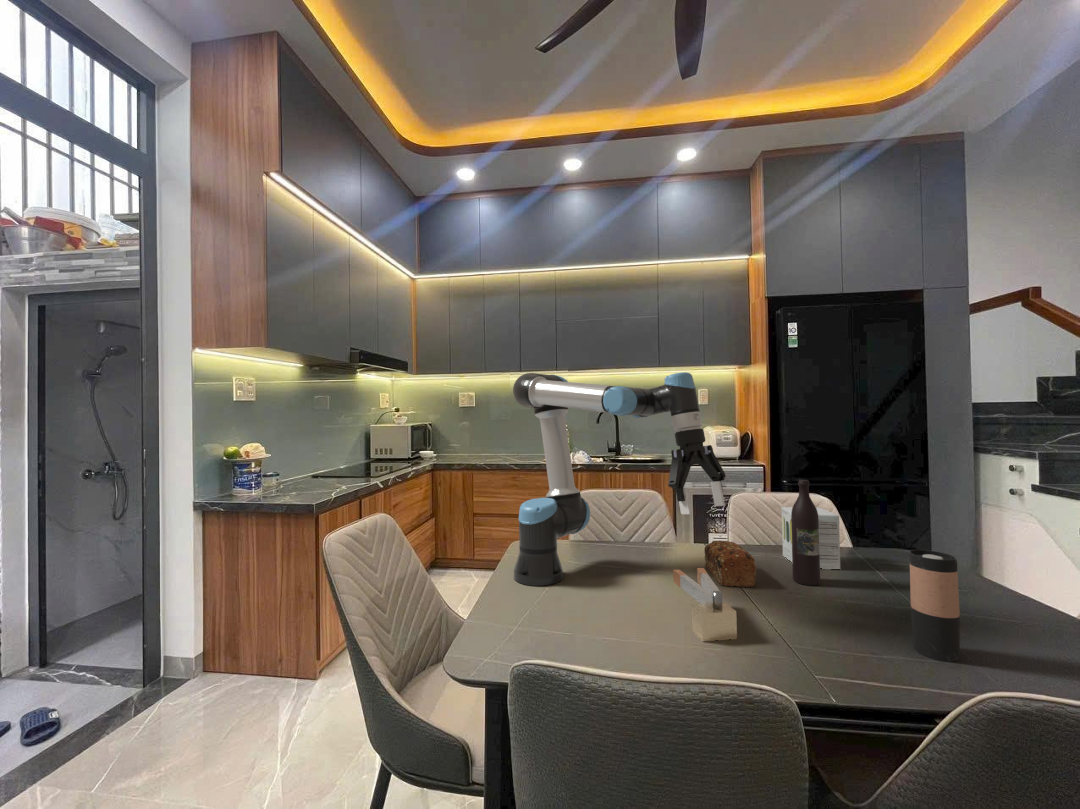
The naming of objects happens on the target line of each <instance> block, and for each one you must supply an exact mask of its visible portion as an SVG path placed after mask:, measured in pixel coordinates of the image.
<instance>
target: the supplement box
mask: <svg viewBox="0 0 1080 809" xmlns="http://www.w3.org/2000/svg"><path fill="white" fill-rule="evenodd" d="M792 508H793V506H781V531H782V532H781V538H782V539H781V540H782V557H783V556H784V557H786V558H787V559H788V560H790V561H791V562H792V527H791V512H792ZM816 509H817V512H818V519H819V551H820V568H822V569H821V570H831V569H840V570H841V547H840V546H841V543H840V515H839V514H837V513H834V512H831V511H829V510H826V509H824V508H821V507H816ZM784 557H783V558H784ZM786 558H785V559H786ZM787 559H786V560H787ZM788 560H787V561H788ZM791 562H790V563H791Z"/></svg>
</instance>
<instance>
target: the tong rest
mask: <svg viewBox="0 0 1080 809" xmlns="http://www.w3.org/2000/svg"><path fill="white" fill-rule="evenodd" d="M672 577H673V578H672V579H673V581H672V582H673V584H675V585H677V586H678V588H680V589H682V590H683V591H684V592H685V593H687V594H688V595H689V596H690V597H692V599H694V600H695V601H697V602H698V603H693V604H691V606H690V607H691V632H692V631H693V632H694V633H695V634H694V633H693V632H692V633H693V634H694V635H695V636H696V635H697V636H696V637H697V638H698V639H699V640H700V639H701V640H702V641H705V642H713V641H714V642H716V641H715V640H718V641H728V640H729V639H731V640H737V639H738V631H737V630H738V625H737V622H738V621H737V620H738V619H737V610H735V609H734V608H733V607H731V606H730V605H729V604H728V603H725V602H723V601H722V608H720V609H719V608H714V607H713V599H712V594H711V593H710V592H709V591H707V590H706V589H704V588H703V587H702V586H701V585H700V584H699V582H696V581H695V580H693V579H692V578H691V577H690V576H688V575H687V574H686V573H685V572H683V570H681V569H673V570H672ZM701 640H700V641H701ZM702 641H701V642H702Z"/></svg>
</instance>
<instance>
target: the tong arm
mask: <svg viewBox="0 0 1080 809" xmlns="http://www.w3.org/2000/svg"><path fill="white" fill-rule="evenodd" d="M696 579H697V583H698V584H699V585H700V586H702V587H703V588H704V589H706V590H707V591H709V592H710V593H711V594H712V599H713V607H714V608H719V609H720V608H722V602H723V591H721V590H719V588H718V586H717V585H716V584H715V582H714V581H713V579H712V578H711V576H710V575H709V574H708V572H707V571H706V569H705V568H704V567H697V568H696Z"/></svg>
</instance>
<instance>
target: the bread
mask: <svg viewBox="0 0 1080 809" xmlns="http://www.w3.org/2000/svg"><path fill="white" fill-rule="evenodd" d="M703 552H704V562H705V566H706V569H707V568H708V571H709V573H710V572H711V573H710V574H711V575H712V576H713V578H714V577H715V578H714V579H715V580H716V581H717V582H718V584H720V585H721V586H726V587H733V586H736V588H737V586H738V588H741V587H742V588H753V587H754V585H755V583H756V579H757V577H756V575H757V573H756V572H757V565H756V559H755V557H754V556H753V555H752V554H751V553H749V552H748V551H747V550H746V549H744V548H743V547H742V546H741V545H739V544H737V543H736V542H734V541H727V540H712V541H711V542H710V543H707V544H706V545H705V547H704V551H703Z"/></svg>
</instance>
